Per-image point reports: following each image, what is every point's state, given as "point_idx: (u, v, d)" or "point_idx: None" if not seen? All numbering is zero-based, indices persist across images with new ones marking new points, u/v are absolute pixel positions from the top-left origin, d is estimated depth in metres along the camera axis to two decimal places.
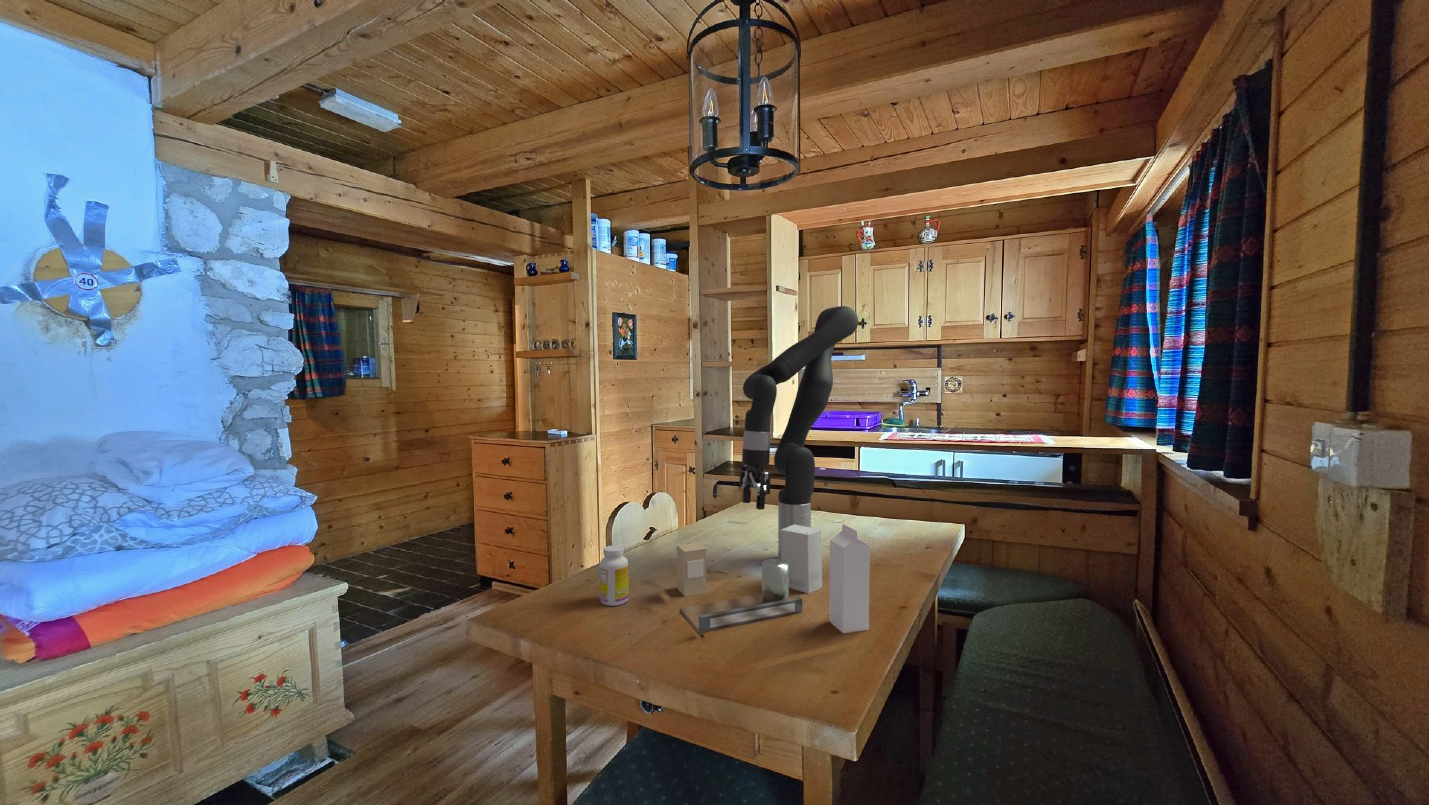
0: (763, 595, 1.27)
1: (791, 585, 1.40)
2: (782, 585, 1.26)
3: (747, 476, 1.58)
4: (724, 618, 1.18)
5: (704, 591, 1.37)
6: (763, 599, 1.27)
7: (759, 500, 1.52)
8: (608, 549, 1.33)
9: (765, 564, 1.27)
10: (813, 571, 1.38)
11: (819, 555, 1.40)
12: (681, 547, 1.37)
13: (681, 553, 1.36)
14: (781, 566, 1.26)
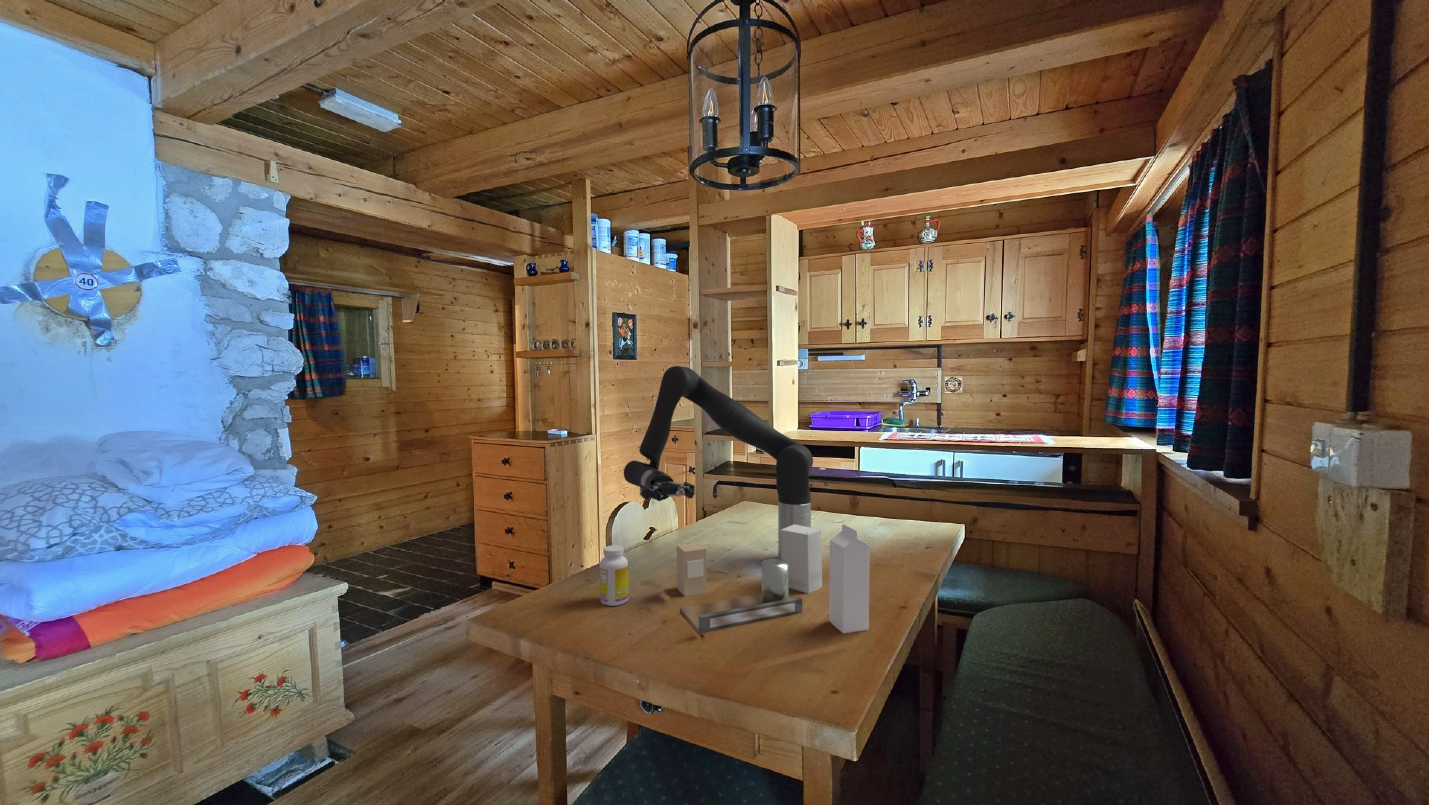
0: (763, 595, 1.27)
1: (791, 585, 1.40)
2: (782, 585, 1.26)
3: (670, 495, 1.55)
4: (724, 618, 1.18)
5: (704, 591, 1.37)
6: (763, 599, 1.27)
7: None
8: (608, 549, 1.33)
9: (765, 564, 1.27)
10: (813, 571, 1.38)
11: (819, 555, 1.40)
12: (681, 547, 1.37)
13: (681, 553, 1.36)
14: (781, 566, 1.26)
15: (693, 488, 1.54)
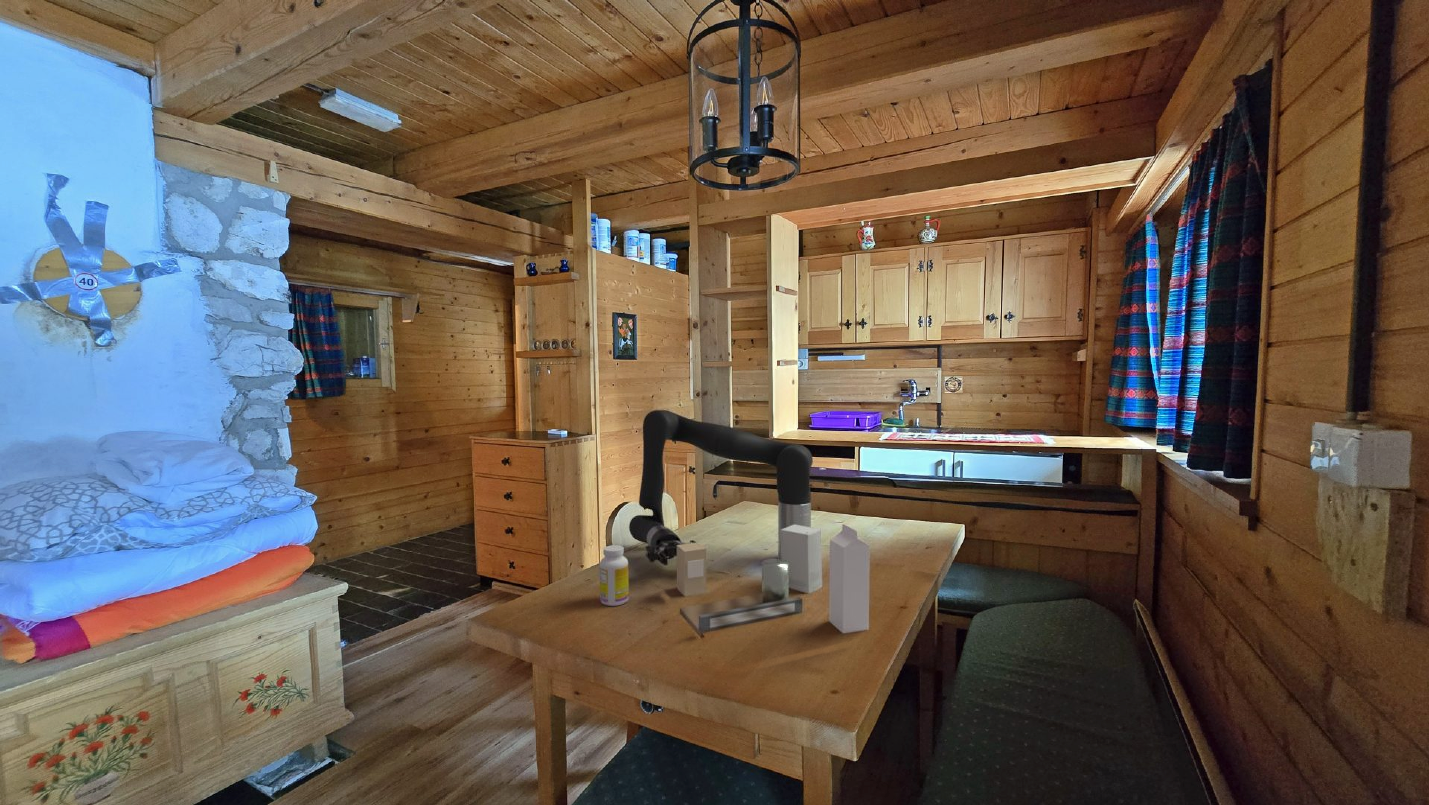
0: (763, 595, 1.27)
1: (791, 585, 1.40)
2: (782, 585, 1.26)
3: None
4: (724, 618, 1.18)
5: (704, 591, 1.37)
6: (763, 599, 1.27)
7: None
8: (608, 549, 1.33)
9: (765, 563, 1.28)
10: (813, 571, 1.38)
11: (819, 555, 1.39)
12: (681, 547, 1.37)
13: (681, 553, 1.36)
14: (781, 565, 1.26)
15: None
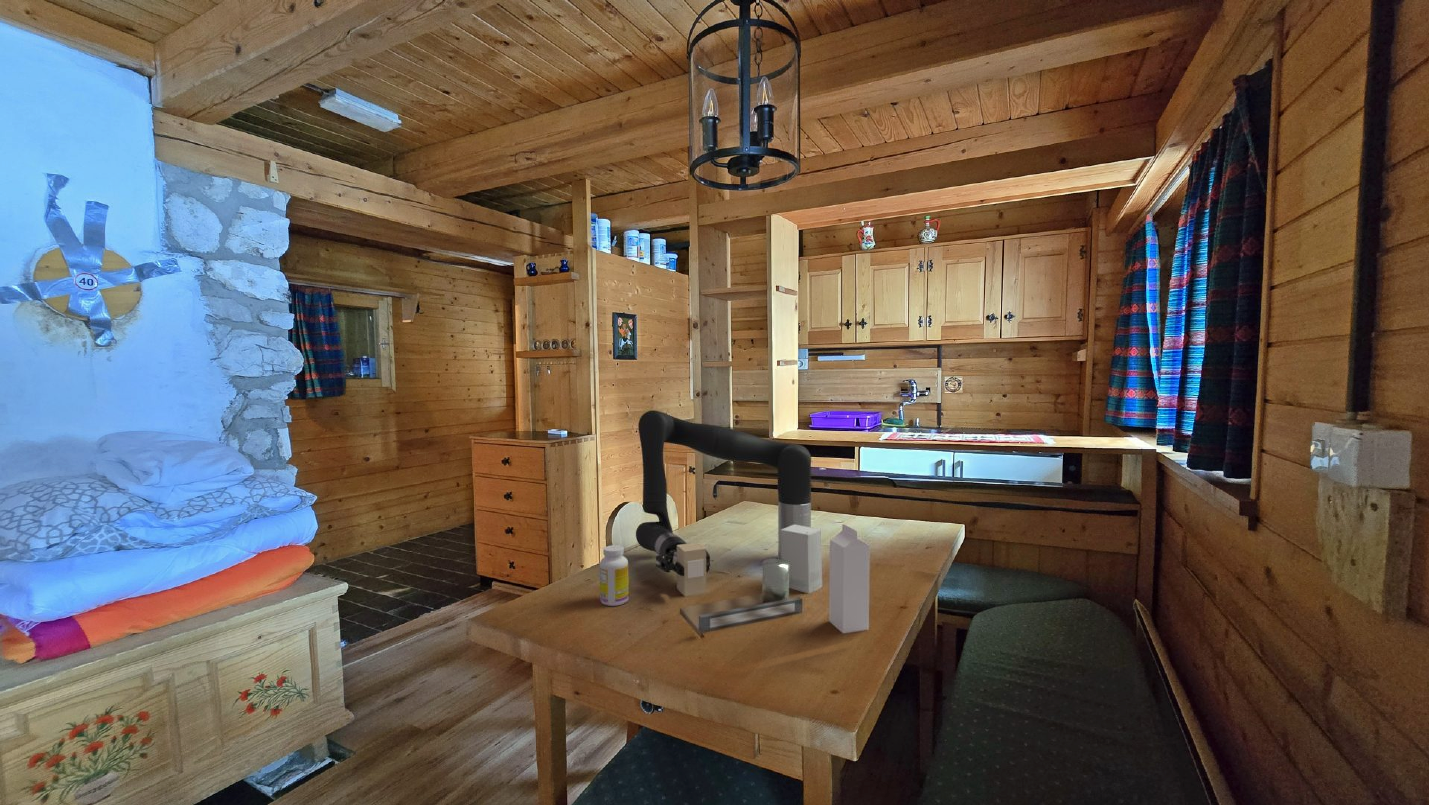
0: (764, 595, 1.27)
1: (791, 585, 1.40)
2: (783, 585, 1.26)
3: None
4: (724, 618, 1.18)
5: (704, 591, 1.37)
6: (763, 599, 1.27)
7: None
8: (608, 549, 1.33)
9: (766, 563, 1.27)
10: (813, 571, 1.38)
11: (819, 555, 1.40)
12: (681, 547, 1.37)
13: (681, 553, 1.36)
14: (782, 566, 1.26)
15: (708, 559, 1.42)
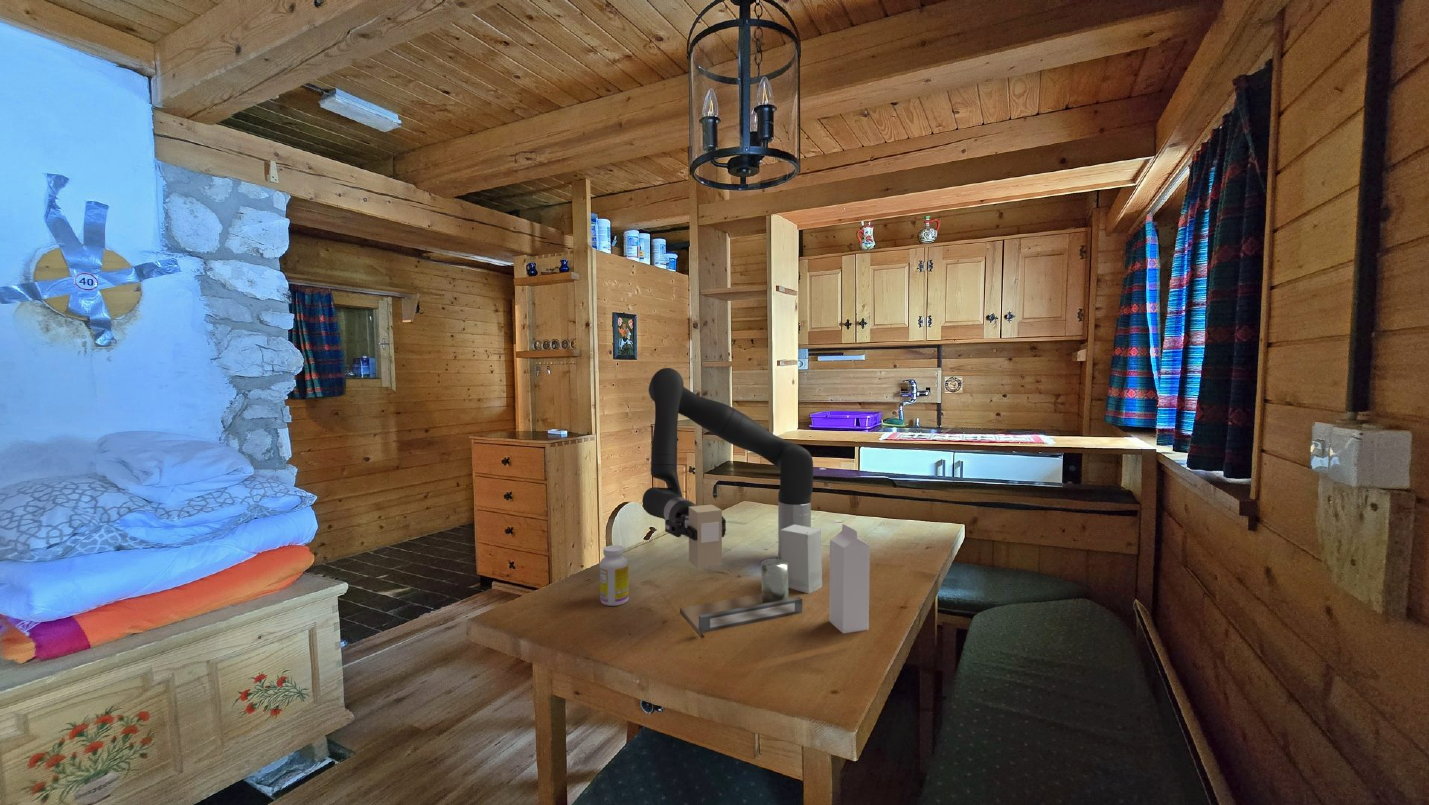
0: (763, 595, 1.27)
1: (791, 585, 1.40)
2: (783, 585, 1.26)
3: None
4: (724, 618, 1.18)
5: (719, 558, 1.22)
6: (763, 599, 1.27)
7: None
8: (608, 549, 1.33)
9: (765, 564, 1.27)
10: (813, 571, 1.38)
11: (819, 555, 1.40)
12: (694, 509, 1.22)
13: (693, 515, 1.21)
14: (781, 566, 1.26)
15: (723, 523, 1.27)
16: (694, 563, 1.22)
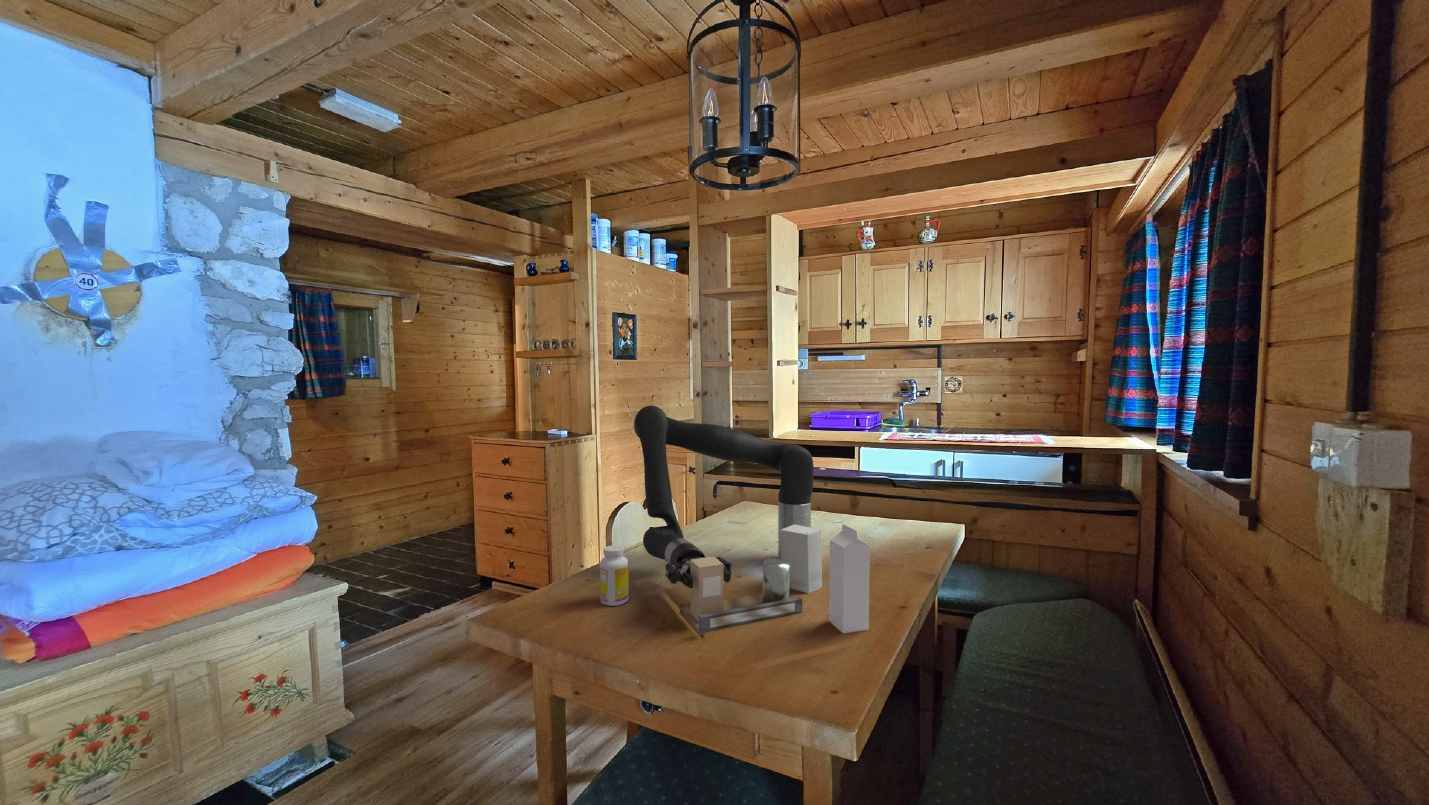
0: (765, 595, 1.27)
1: (791, 585, 1.40)
2: (785, 585, 1.26)
3: None
4: (724, 618, 1.18)
5: None
6: (764, 599, 1.27)
7: None
8: (608, 549, 1.33)
9: (767, 564, 1.27)
10: (813, 571, 1.38)
11: (819, 555, 1.40)
12: (695, 563, 1.23)
13: (695, 569, 1.22)
14: (784, 566, 1.26)
15: (729, 567, 1.28)
16: (696, 617, 1.22)
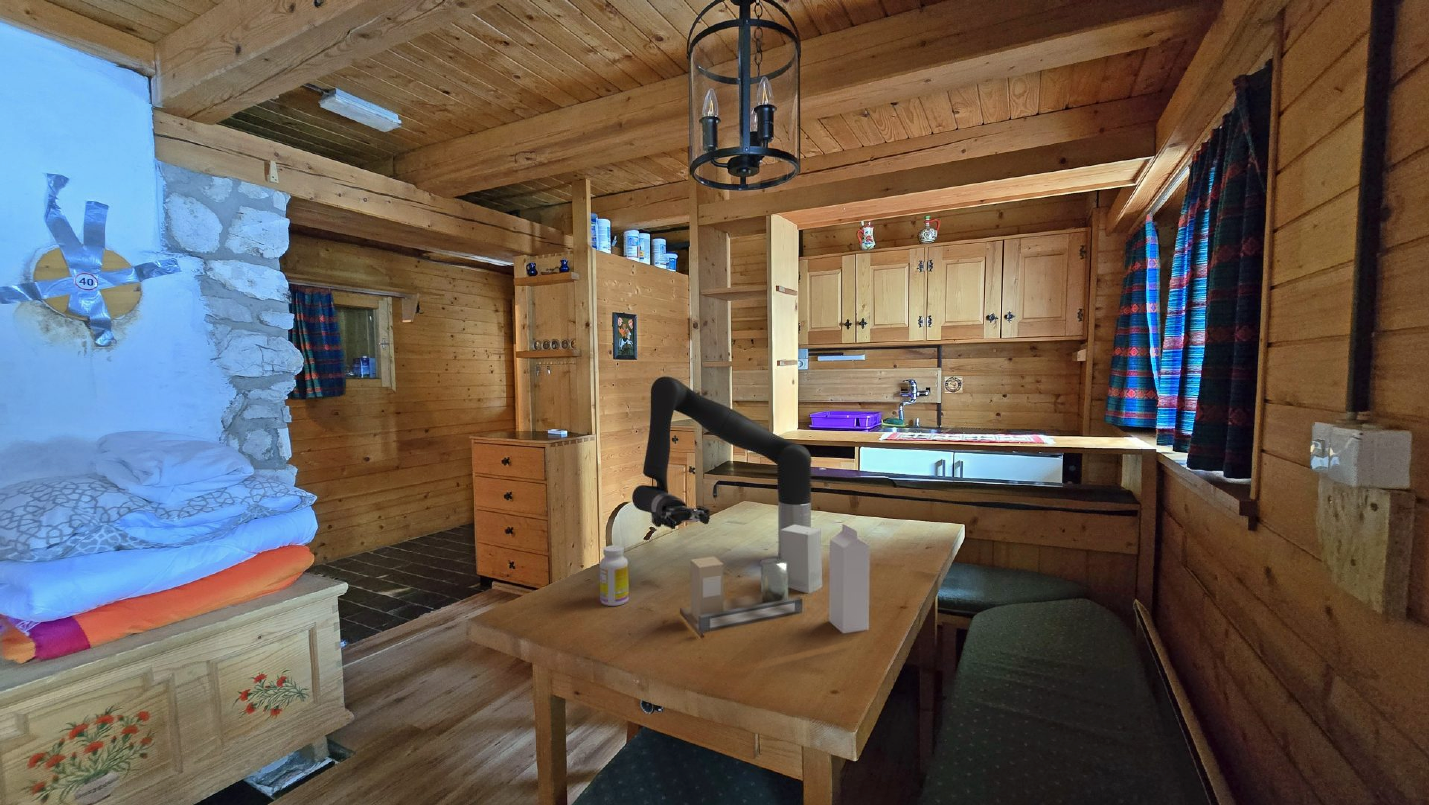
0: (764, 595, 1.27)
1: (791, 585, 1.40)
2: (784, 583, 1.26)
3: (684, 520, 1.46)
4: (724, 618, 1.18)
5: None
6: (764, 599, 1.27)
7: None
8: (608, 549, 1.33)
9: (765, 564, 1.27)
10: (813, 571, 1.38)
11: (819, 555, 1.40)
12: (695, 563, 1.23)
13: (695, 569, 1.22)
14: (782, 564, 1.27)
15: (708, 512, 1.45)
16: (696, 617, 1.22)
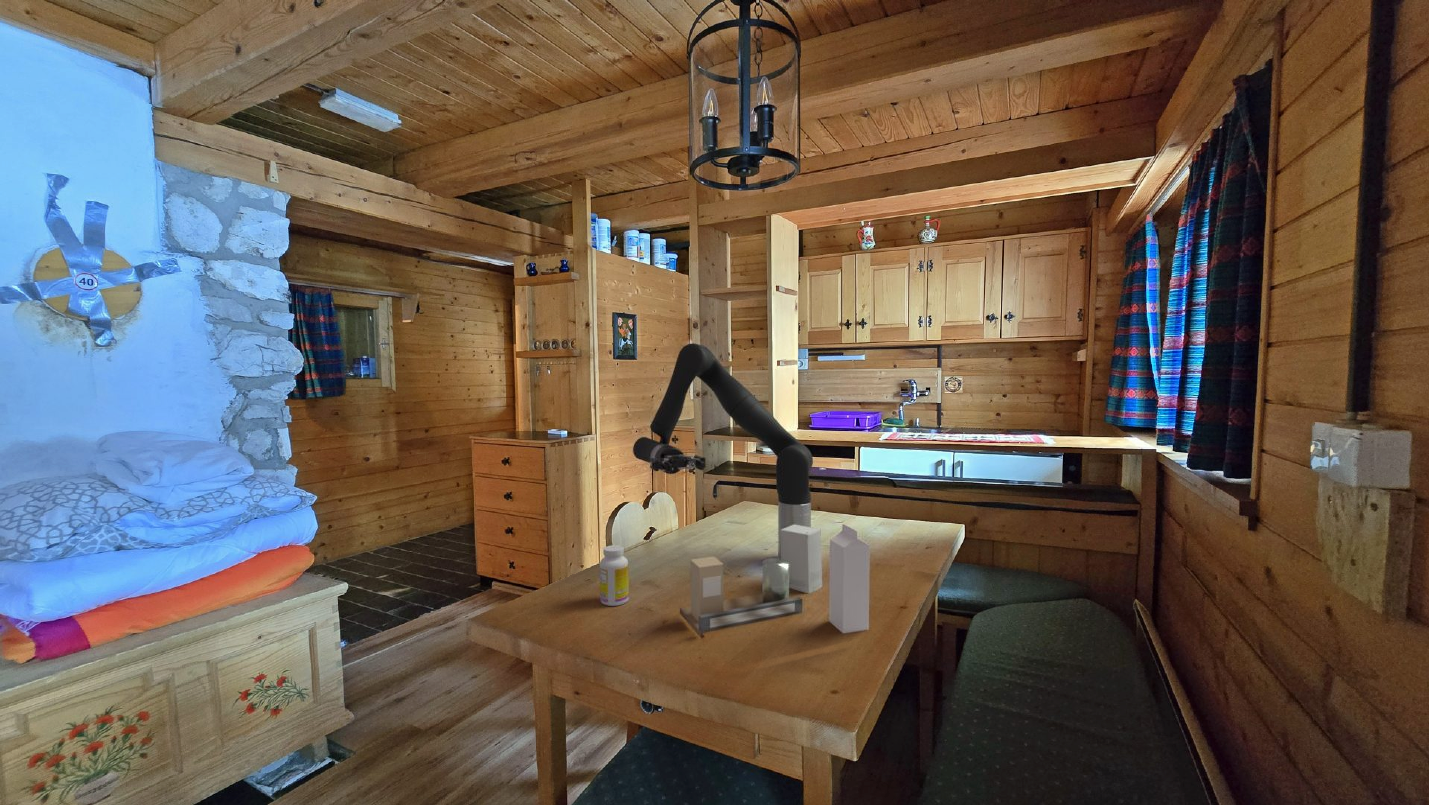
0: (766, 595, 1.27)
1: (791, 585, 1.40)
2: (786, 583, 1.26)
3: (681, 468, 1.53)
4: (724, 618, 1.18)
5: None
6: (766, 599, 1.27)
7: (665, 469, 1.46)
8: (608, 549, 1.33)
9: (768, 563, 1.27)
10: (813, 571, 1.38)
11: (819, 555, 1.40)
12: (695, 563, 1.23)
13: (695, 569, 1.22)
14: (785, 564, 1.27)
15: (704, 460, 1.52)
16: (696, 617, 1.22)
